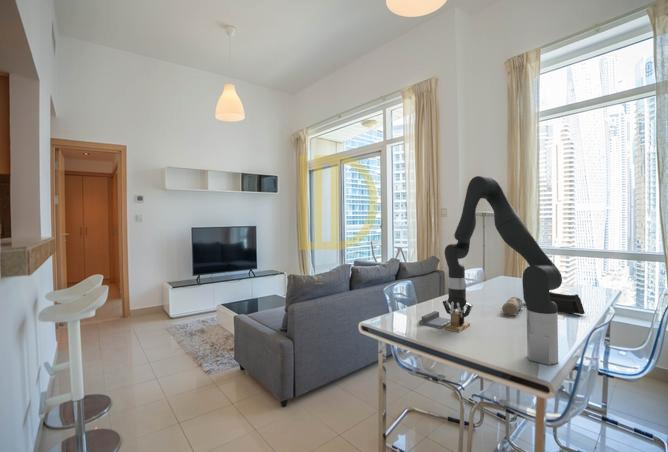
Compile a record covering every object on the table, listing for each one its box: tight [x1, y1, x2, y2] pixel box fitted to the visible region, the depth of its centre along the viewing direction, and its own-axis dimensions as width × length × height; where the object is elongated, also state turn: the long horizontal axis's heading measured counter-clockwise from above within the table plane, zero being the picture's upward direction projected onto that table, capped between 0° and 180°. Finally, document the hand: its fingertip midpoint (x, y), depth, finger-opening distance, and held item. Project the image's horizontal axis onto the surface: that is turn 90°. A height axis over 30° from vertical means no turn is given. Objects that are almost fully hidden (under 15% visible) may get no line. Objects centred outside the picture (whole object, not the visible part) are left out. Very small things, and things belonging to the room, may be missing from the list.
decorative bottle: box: [501, 296, 524, 316], centre depth 174 cm, size 26×8×7 cm, turn 142°
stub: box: [444, 310, 471, 333], centre depth 148 cm, size 12×7×7 cm, turn 135°
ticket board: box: [418, 310, 451, 329], centre depth 156 cm, size 13×12×4 cm
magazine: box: [522, 291, 586, 315], centre depth 173 cm, size 17×3×30 cm
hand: (457, 324), depth 148 cm, fingers closed on stub, 3 cm apart
